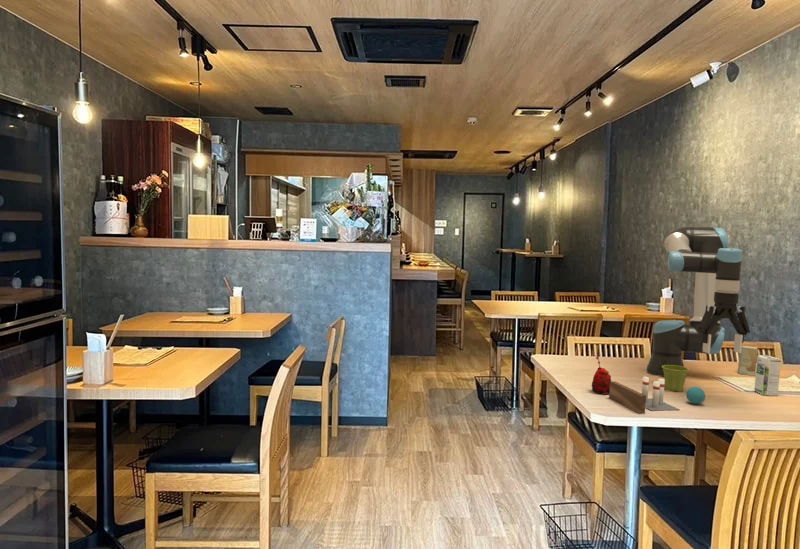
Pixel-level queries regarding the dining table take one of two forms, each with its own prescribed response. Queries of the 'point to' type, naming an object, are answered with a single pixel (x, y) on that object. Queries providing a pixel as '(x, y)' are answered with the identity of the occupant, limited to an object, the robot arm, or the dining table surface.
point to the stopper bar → (627, 397)
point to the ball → (695, 395)
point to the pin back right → (645, 386)
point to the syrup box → (767, 375)
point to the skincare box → (747, 360)
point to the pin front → (661, 391)
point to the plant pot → (674, 377)
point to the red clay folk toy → (601, 380)
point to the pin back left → (655, 394)
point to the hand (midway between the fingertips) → (721, 352)
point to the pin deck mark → (659, 406)
